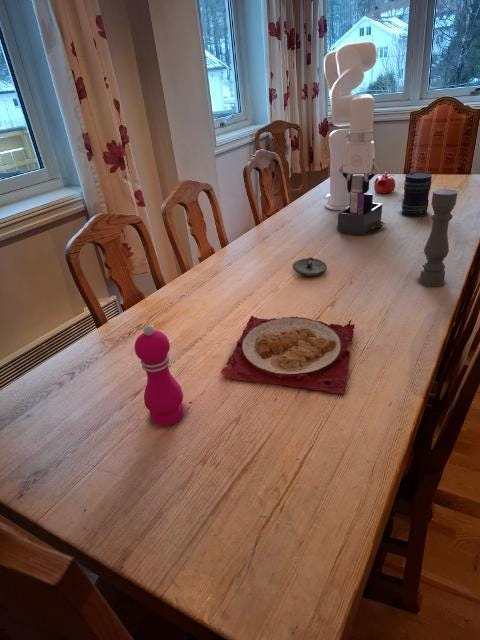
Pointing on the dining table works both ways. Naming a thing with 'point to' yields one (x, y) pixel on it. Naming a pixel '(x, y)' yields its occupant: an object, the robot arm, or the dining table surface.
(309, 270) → the lid
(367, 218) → the bin
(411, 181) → the storage jar
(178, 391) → the pepper mill
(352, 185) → the container
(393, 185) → the pomegranate
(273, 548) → the dining table surface
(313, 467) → the dining table surface
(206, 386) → the dining table surface
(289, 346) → the plate with food
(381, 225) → the lily flower
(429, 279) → the candle holder
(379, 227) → the turntable
